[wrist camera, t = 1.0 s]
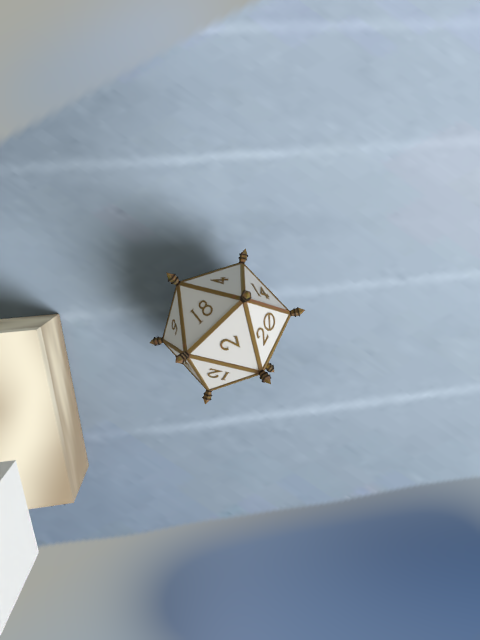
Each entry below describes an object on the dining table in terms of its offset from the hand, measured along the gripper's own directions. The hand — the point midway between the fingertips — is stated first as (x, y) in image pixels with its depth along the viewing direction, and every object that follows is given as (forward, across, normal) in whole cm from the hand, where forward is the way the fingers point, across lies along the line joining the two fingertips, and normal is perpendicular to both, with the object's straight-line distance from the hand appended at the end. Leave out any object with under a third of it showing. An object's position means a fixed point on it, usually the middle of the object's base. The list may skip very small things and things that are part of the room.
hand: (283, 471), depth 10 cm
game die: (+19, 0, 0) cm, 19 cm away
